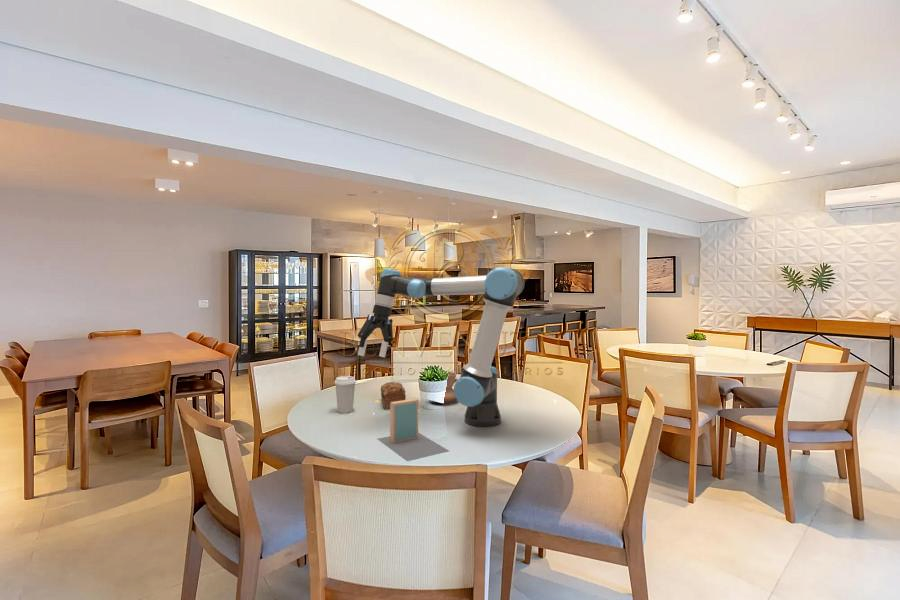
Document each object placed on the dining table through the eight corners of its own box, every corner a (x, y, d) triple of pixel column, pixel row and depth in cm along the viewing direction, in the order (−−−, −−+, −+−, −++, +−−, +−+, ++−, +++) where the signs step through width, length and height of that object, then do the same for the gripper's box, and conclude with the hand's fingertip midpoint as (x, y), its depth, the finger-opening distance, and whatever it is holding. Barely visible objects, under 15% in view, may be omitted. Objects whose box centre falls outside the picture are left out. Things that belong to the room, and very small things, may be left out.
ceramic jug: (427, 407, 200) (428, 376, 200) (424, 399, 215) (424, 370, 214) (465, 405, 203) (466, 375, 203) (459, 397, 218) (459, 369, 217)
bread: (405, 409, 197) (405, 387, 196) (382, 410, 194) (382, 388, 194) (402, 399, 215) (402, 379, 215) (380, 400, 213) (380, 380, 212)
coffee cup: (350, 414, 187) (350, 380, 187) (330, 413, 189) (330, 379, 189) (359, 408, 196) (359, 376, 196) (340, 407, 198) (340, 375, 198)
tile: (390, 441, 154) (390, 402, 154) (414, 436, 159) (415, 398, 159) (393, 443, 152) (393, 404, 151) (418, 438, 157) (418, 400, 157)
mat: (376, 439, 156) (376, 438, 156) (415, 432, 165) (415, 431, 165) (407, 462, 136) (407, 461, 136) (449, 452, 145) (449, 451, 145)
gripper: (394, 308, 191) (383, 355, 190) (356, 299, 169) (344, 352, 168) (407, 311, 187) (396, 359, 186) (371, 302, 165) (358, 357, 164)
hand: (371, 356), depth 177 cm, fingers open, 13 cm apart
